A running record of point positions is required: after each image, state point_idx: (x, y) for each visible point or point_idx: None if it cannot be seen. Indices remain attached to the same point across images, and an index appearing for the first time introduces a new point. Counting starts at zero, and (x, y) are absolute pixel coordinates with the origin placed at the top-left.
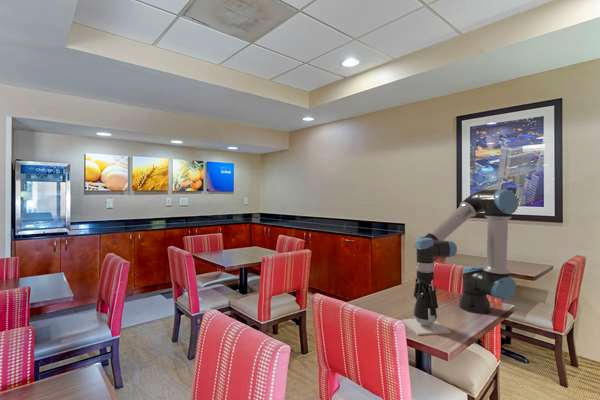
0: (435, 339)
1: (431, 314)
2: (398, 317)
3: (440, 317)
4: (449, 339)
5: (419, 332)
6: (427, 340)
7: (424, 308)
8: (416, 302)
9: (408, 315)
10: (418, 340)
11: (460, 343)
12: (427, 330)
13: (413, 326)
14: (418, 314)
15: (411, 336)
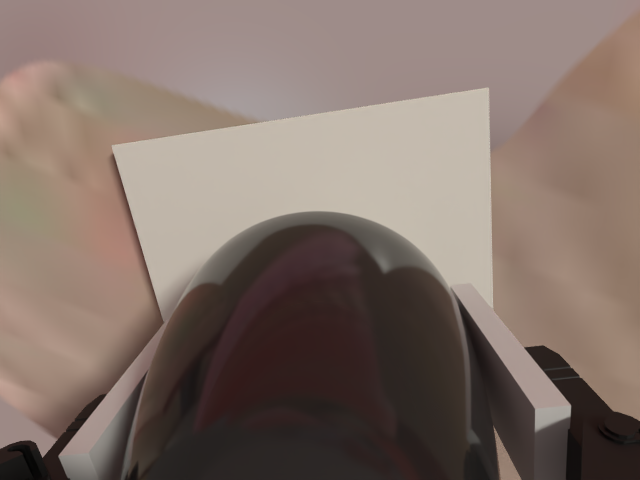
0: (63, 271)
1: (97, 406)
2: (595, 86)
3: (513, 477)
4: (83, 374)
5: (143, 173)
6: (29, 196)
7: (143, 385)
8: (310, 337)
9: (624, 223)
10: (11, 111)
11: (29, 416)
12: (196, 266)
13: (288, 163)
14: (224, 251)
15: (90, 69)
